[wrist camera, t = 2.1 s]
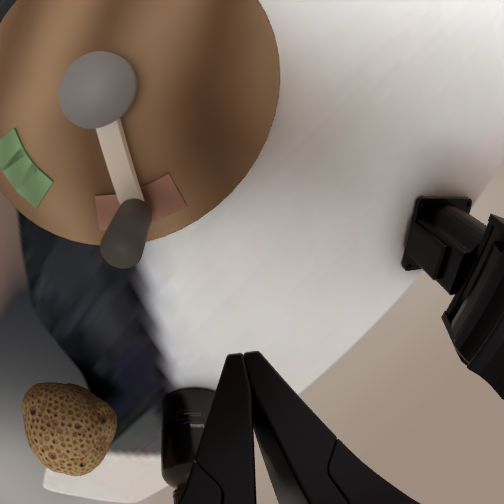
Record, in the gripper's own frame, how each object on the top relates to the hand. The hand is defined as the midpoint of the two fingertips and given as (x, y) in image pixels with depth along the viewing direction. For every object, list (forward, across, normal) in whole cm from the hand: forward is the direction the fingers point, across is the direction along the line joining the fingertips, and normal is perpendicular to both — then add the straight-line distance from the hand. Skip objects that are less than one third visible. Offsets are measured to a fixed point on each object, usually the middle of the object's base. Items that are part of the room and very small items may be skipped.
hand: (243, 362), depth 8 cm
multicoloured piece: (+11, +5, -4) cm, 13 cm away
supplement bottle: (+13, +4, +22) cm, 26 cm away
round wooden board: (+13, +6, -7) cm, 16 cm away
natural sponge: (+13, +16, +18) cm, 27 cm away
